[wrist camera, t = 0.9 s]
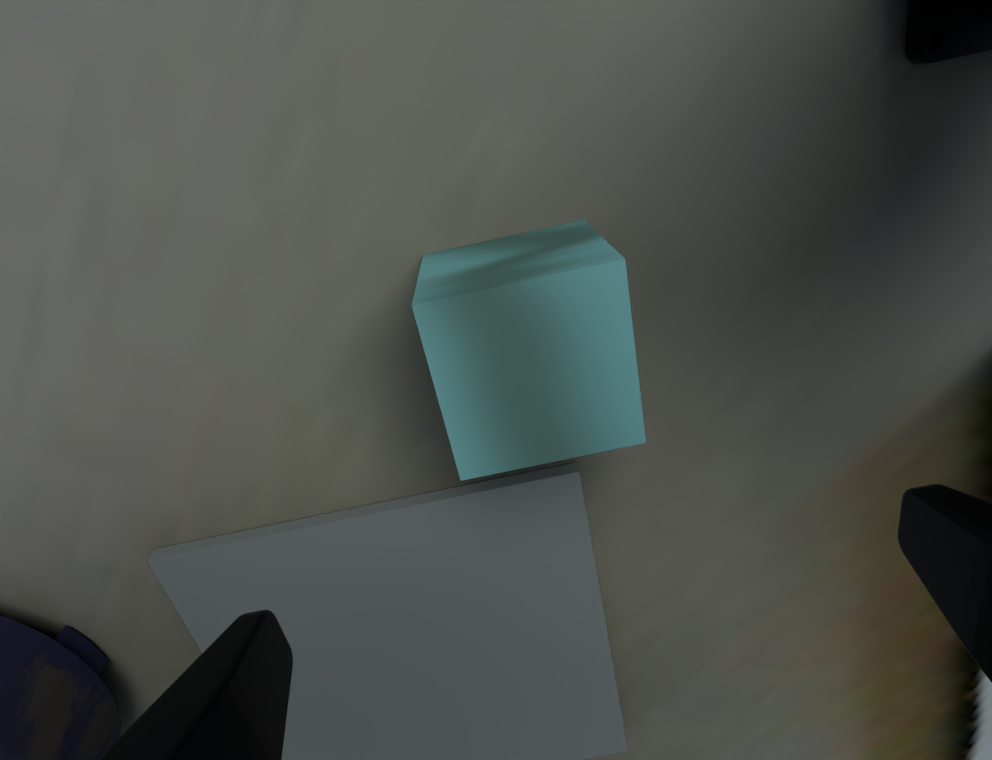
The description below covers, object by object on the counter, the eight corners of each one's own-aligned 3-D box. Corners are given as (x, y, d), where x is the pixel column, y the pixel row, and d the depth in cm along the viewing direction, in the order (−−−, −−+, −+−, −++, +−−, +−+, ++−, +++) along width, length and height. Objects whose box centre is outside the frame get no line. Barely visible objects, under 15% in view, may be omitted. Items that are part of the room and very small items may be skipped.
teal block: (583, 219, 18) (625, 259, 14) (604, 366, 20) (646, 443, 16) (423, 254, 18) (411, 305, 14) (460, 396, 20) (460, 480, 16)
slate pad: (576, 462, 22) (579, 471, 21) (625, 738, 29) (628, 751, 28) (153, 549, 22) (146, 560, 22) (300, 800, 29) (297, 813, 29)
